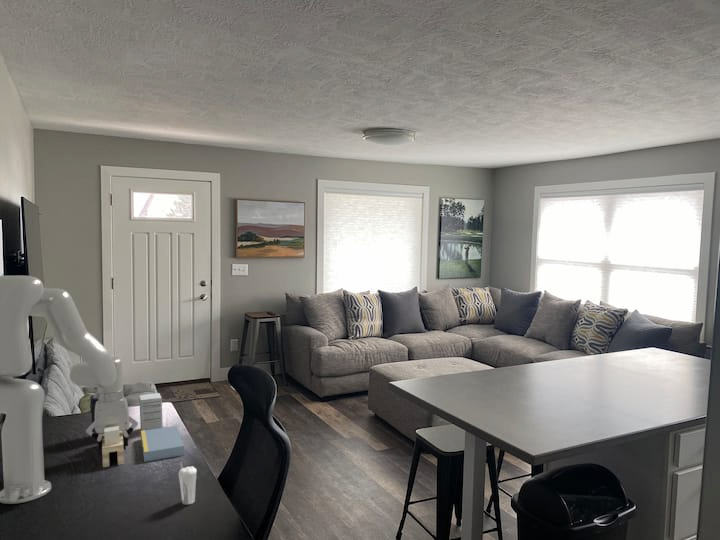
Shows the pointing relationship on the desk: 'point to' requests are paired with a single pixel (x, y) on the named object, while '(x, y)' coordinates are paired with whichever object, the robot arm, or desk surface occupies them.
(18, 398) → the robot arm
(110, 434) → the crate cream
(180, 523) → the desk surface
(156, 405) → the supplement box
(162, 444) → the block
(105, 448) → the pallet
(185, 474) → the milkshake
